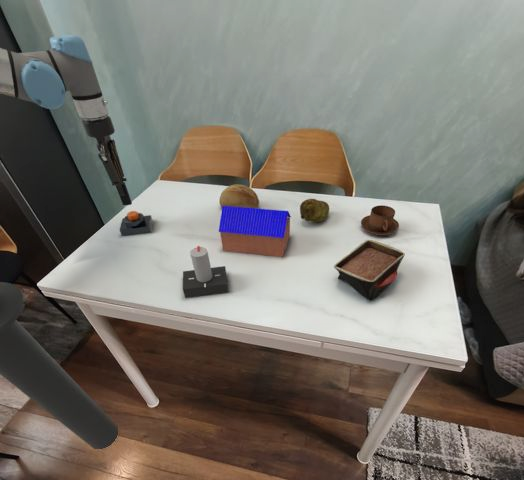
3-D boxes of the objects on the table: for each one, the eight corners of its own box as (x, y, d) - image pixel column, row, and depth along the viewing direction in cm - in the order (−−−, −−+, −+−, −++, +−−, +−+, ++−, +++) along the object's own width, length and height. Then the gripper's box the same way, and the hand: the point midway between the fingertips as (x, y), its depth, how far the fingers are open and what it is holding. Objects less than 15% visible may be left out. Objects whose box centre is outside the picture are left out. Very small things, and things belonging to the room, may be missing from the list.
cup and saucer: (404, 233, 99) (411, 215, 94) (373, 242, 96) (378, 223, 92) (382, 216, 106) (387, 199, 101) (352, 224, 104) (356, 206, 99)
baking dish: (325, 286, 87) (328, 260, 78) (366, 253, 92) (373, 225, 83) (365, 314, 81) (373, 289, 72) (407, 277, 85) (419, 250, 77)
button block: (122, 235, 105) (117, 224, 102) (125, 224, 110) (120, 213, 107) (151, 232, 106) (147, 221, 103) (152, 220, 111) (149, 210, 108)
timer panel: (185, 298, 83) (182, 289, 81) (185, 279, 89) (182, 270, 86) (228, 292, 84) (227, 283, 81) (226, 273, 89) (224, 264, 87)
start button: (128, 221, 104) (126, 216, 102) (129, 216, 106) (127, 211, 105) (138, 220, 104) (137, 215, 103) (139, 215, 106) (138, 210, 105)
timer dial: (212, 281, 83) (207, 254, 76) (196, 283, 82) (189, 256, 76) (212, 271, 85) (206, 244, 79) (196, 273, 85) (189, 246, 79)
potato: (337, 220, 106) (340, 197, 99) (305, 231, 102) (307, 207, 96) (323, 210, 110) (326, 187, 104) (292, 220, 107) (293, 197, 101)
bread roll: (257, 215, 110) (255, 192, 104) (217, 214, 112) (213, 191, 106) (261, 203, 116) (260, 180, 110) (223, 201, 118) (220, 179, 112)
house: (283, 257, 93) (284, 221, 84) (221, 251, 97) (215, 215, 88) (290, 236, 100) (291, 201, 91) (232, 231, 104) (228, 196, 95)
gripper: (105, 122, 79) (136, 212, 97) (113, 109, 87) (140, 194, 105) (75, 125, 78) (112, 214, 97) (86, 111, 87) (118, 196, 105)
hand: (127, 204), depth 101 cm, fingers closed
